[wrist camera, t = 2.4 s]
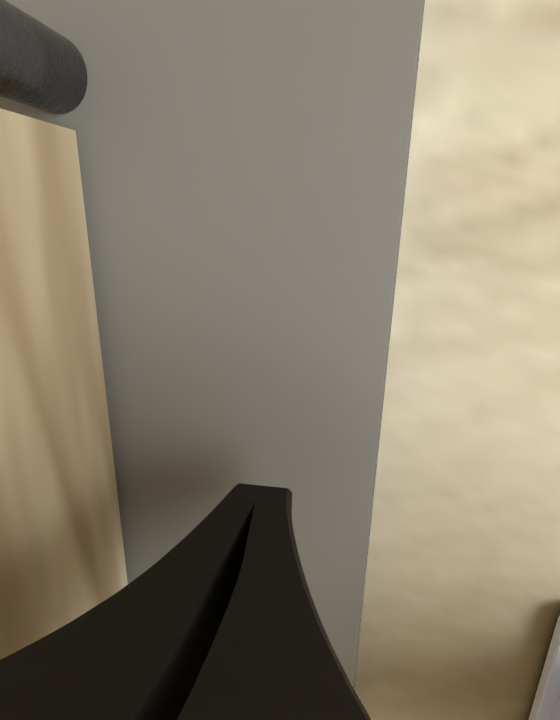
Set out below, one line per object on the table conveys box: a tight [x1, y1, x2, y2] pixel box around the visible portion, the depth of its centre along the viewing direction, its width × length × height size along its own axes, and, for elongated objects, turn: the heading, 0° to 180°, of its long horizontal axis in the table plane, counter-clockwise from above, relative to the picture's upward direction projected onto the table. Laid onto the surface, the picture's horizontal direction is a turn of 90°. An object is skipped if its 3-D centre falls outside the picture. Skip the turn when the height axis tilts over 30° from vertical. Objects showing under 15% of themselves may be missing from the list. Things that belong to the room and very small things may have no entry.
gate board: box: [0, 0, 425, 689], centre depth 13 cm, size 15×24×1 cm, turn 179°
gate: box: [0, 108, 128, 660], centre depth 10 cm, size 1×13×5 cm, turn 179°
